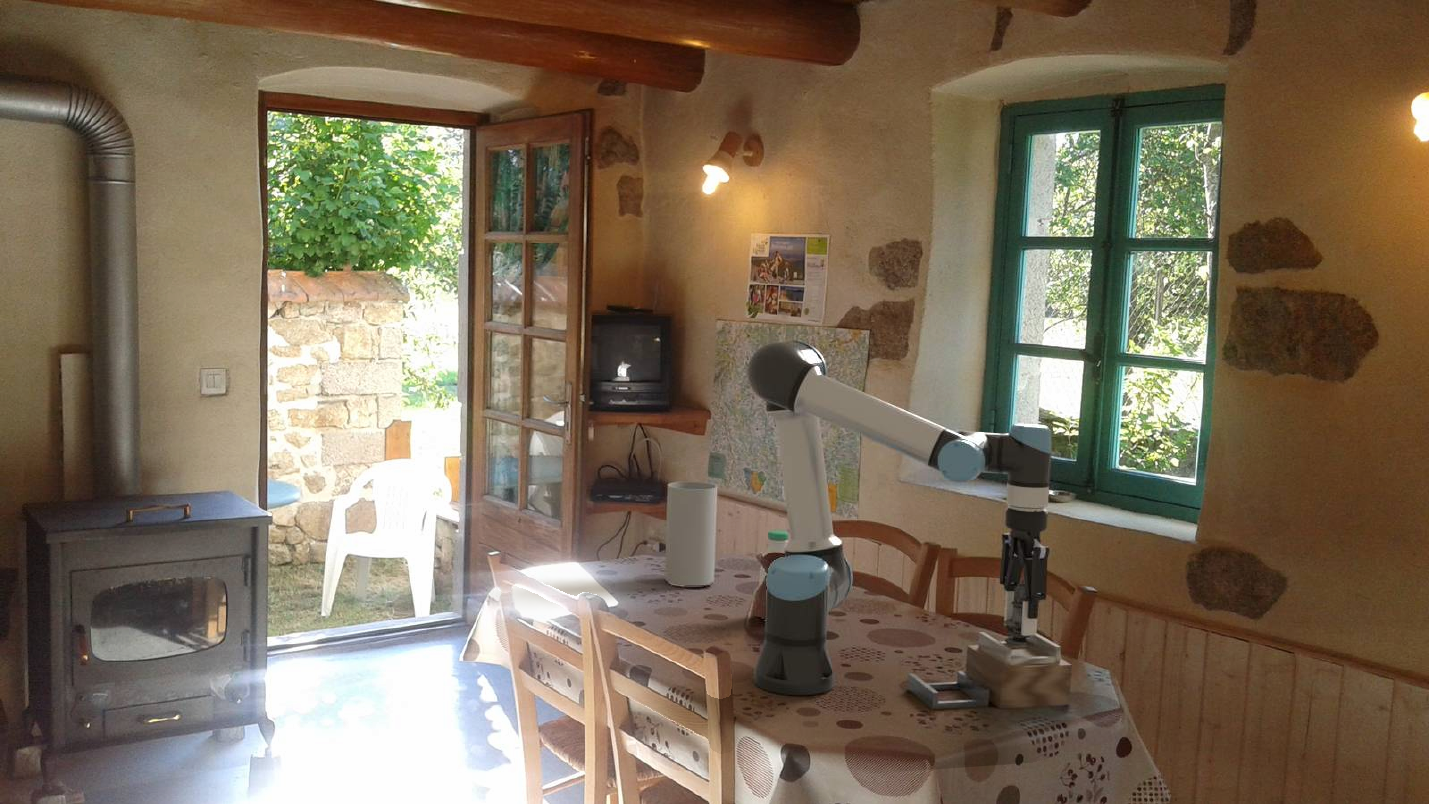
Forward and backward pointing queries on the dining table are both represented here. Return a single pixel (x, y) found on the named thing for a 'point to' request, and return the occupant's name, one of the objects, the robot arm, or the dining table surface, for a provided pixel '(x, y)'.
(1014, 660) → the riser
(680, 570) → the cylinder vase
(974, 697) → the low socket
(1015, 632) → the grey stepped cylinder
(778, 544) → the milk bottle
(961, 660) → the dining table surface
